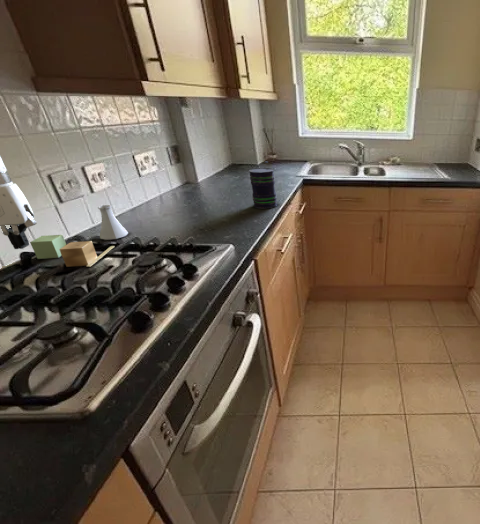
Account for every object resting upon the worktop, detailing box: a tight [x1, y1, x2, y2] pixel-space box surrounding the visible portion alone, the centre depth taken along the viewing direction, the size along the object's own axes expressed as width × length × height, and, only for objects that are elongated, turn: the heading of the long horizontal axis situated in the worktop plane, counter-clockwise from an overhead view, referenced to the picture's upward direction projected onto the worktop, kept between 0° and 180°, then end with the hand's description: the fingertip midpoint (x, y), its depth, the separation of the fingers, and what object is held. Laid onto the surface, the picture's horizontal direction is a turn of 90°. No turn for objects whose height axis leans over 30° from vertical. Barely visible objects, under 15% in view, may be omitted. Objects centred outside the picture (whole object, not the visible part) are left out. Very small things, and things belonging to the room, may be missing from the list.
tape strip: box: [85, 245, 115, 268], centre depth 93 cm, size 1×14×1 cm, turn 13°
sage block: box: [29, 234, 67, 260], centre depth 92 cm, size 5×5×5 cm
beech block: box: [59, 240, 98, 268], centre depth 88 cm, size 5×5×5 cm
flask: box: [97, 204, 129, 241], centre depth 105 cm, size 7×7×10 cm
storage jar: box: [249, 161, 278, 209], centre depth 139 cm, size 10×10×18 cm
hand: (22, 246), depth 91 cm, fingers closed
